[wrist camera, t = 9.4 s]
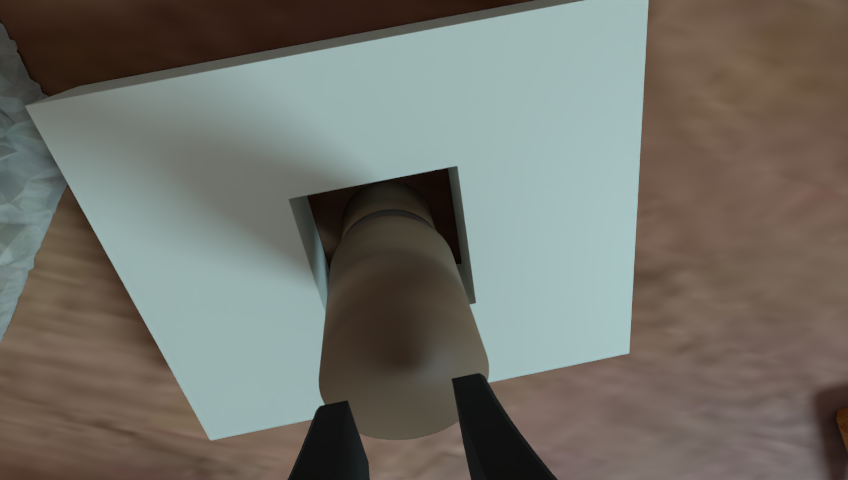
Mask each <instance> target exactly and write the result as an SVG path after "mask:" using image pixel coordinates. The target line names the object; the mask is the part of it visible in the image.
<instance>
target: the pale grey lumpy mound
mask: <svg viewBox="0 0 848 480" xmlns="http://www.w3.org/2000/svg"><path fill="white" fill-rule="evenodd" d="M16 45H17V44H16V42H15V40H10V39H9V37H8V34H7V31H6V29H5V27H4V26H3V24H1V23H0V342H1V339H2V337H3V334H4V333H5V332H6V329H7V327H8V325H9V323H10V321H11V318H12V315H13V313H14V311H15V307H16V304H17V302H18V297H19V296H20V295H21V292H22V290H23V287H24V285H25V282H26V280H27V277H28V271H29V270H31V269H32V268H34V257H35V256H36V254H35V253H36V252H37V251H38V250H39V248H40V246H41V242H42V241H43V239H44V236H45V234H46V231H47V229H48V227H49V225H50V222H51V219H52V215H53V213H55V211H56V208H57V205H58V202H59V201H60V198H61V196H62V194H63V192H64V190H65V188H66V186H67V185H68V183H67V181H66V179H65V177H64V176H63V174H62V172H61V170H60V168H59V167H58V165H57V163H56V161H55V159H54V158H53V156H52V154H51V152H50V150H49V149H48V147H47V145H46V143H45V141H44V140H43V138H42V136H41V134H40V132H39V131H38V129H37V127H36V125H35V123H34V122H33V120H32V118H31V116H30V114H29V113H28V111H27V109H26V107H25V106H26V105H29V104H32V103H34V102H37V101H40V100H42V99H45V98H48V95H45V94H43V93H42V90H41V87H40V85H39V84H38V83H37V82H34V81H33V80H31V79H30V78H29V75H28V72H27V70H26V68H25V66H24V64H23V62H22V60H21V57H20V55H19V54H18V53H17V46H16Z"/></svg>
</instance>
